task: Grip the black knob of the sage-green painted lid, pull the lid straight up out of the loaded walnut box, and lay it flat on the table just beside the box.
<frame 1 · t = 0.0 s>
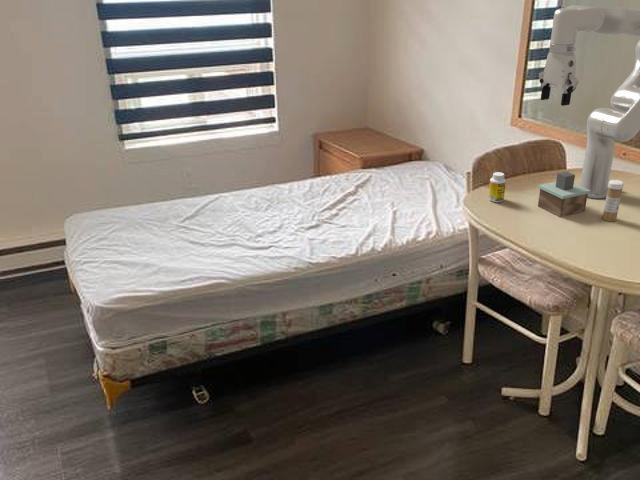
hand: (554, 102, 198), 37 cm above the table, tool pointing down, fingers open, 9 cm apart
lid: (563, 193, 206), point 6 cm above the table, touching storage box
storage box: (560, 208, 209), on the table
sprinkles bottle: (609, 219, 200), on the table
supplement bottle: (495, 200, 219), on the table
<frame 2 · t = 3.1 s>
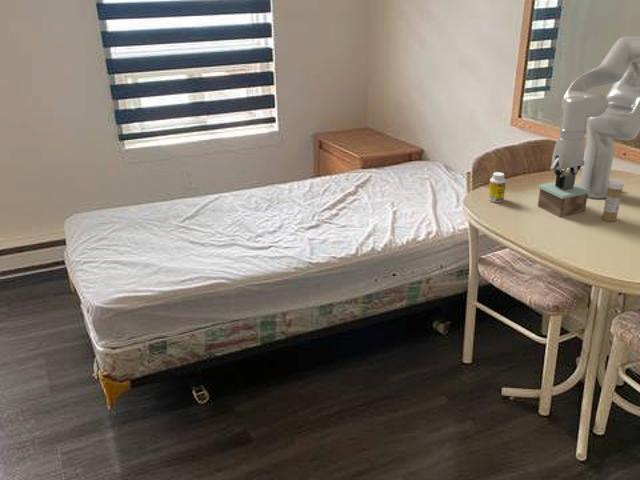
hand: (564, 185, 205), 9 cm above the table, tool pointing down, fingers closed on lid, 4 cm apart
lid: (563, 193, 206), point 6 cm above the table, touching gripper, storage box
everything else where it was.
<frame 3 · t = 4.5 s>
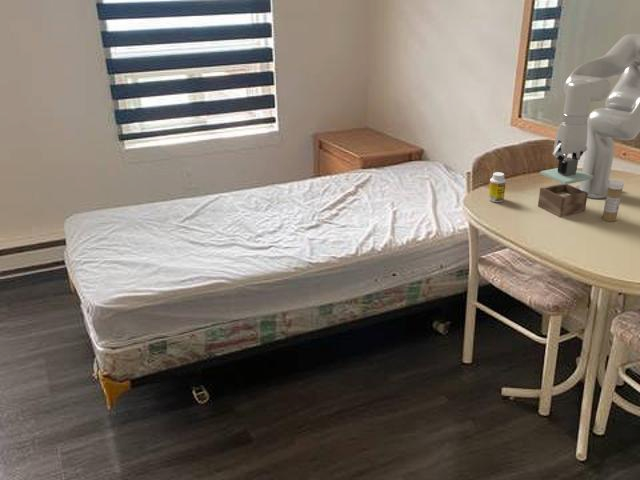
hand: (566, 171, 203), 14 cm above the table, tool pointing down, fingers closed on lid, 4 cm apart
lid: (565, 179, 204), point 11 cm above the table, touching gripper
everything else where it was.
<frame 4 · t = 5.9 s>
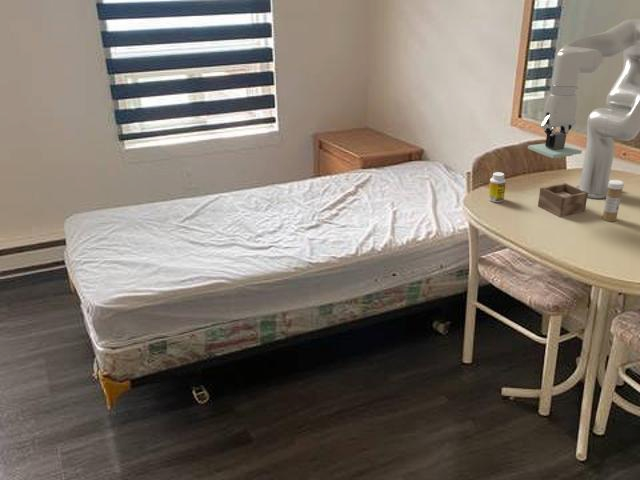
hand: (554, 145, 197), 24 cm above the table, tool pointing down, fingers closed on lid, 4 cm apart
lid: (553, 153, 199), point 21 cm above the table, touching gripper
everything else where it was.
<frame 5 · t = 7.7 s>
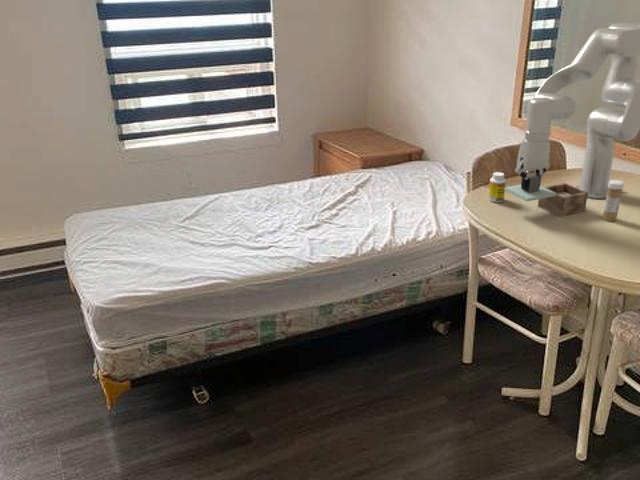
hand: (530, 187, 202), 10 cm above the table, tool pointing down, fingers closed on lid, 4 cm apart
lid: (529, 195, 204), point 7 cm above the table, touching gripper
everything else where it was.
when the fingers open (4 cm above the table, at t = 9.2 s): lid drops 2 cm, on the table.
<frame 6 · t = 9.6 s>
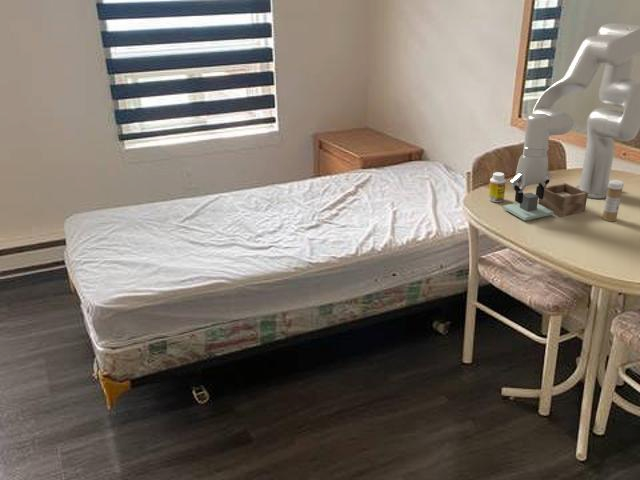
hand: (528, 199, 204), 5 cm above the table, tool pointing down, fingers open, 8 cm apart
lid: (527, 213, 207), on the table
everything else where it was.
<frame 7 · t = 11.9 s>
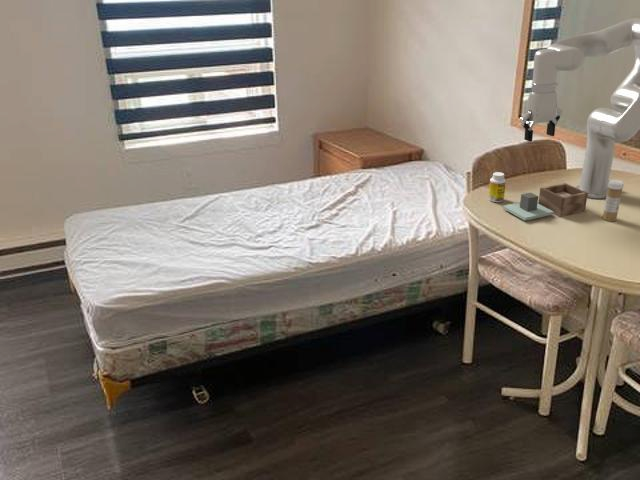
hand: (539, 137, 204), 24 cm above the table, tool pointing down, fingers open, 9 cm apart
nothing on the table moved.
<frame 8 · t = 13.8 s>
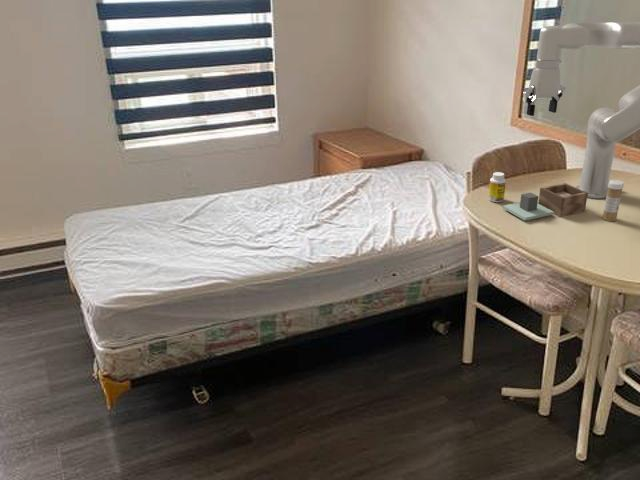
hand: (541, 113, 211), 30 cm above the table, tool pointing down, fingers open, 9 cm apart
nothing on the table moved.
at the end: lid inside the target area (0.1 cm from its centre), on the table; lid tilted 0°; the gripper is holding nothing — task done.
